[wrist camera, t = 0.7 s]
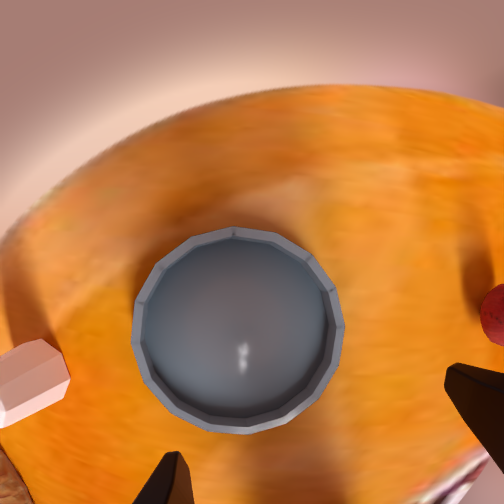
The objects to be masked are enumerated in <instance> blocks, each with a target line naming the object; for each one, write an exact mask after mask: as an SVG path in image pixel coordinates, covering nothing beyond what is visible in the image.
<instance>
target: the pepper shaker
mask: <svg viewBox="0 0 504 504" xmlns="http://www.w3.org/2000/svg"><path fill="white" fill-rule="evenodd" d="M70 379H71V378H70V376H69V373H68V370H67V368H66V365H65V362H64V359H63V356H62V353H60V352H59V351H58V350H56V349H55V348H54V347H52V346H51V345H49V344H48V343H47V342H45V341H44V340H43V339H38V340H34V341H30V342H26V343H23V344H21V345H19V346H17V347H16V348H14V349H12V350H10V351H9V352H7V353H5V354H3V355H2V356H0V428H3V427H6V426H9V425H11V424H13V423H15V422H17V421H19V420H21V419H23V418H25V417H27V416H29V415H31V414H33V413H35V412H37V411H39V410H41V409H43V408H45V407H47V406H49V405H51V404H53V403H55V402H57V401H59V400H61V399H63V397H64V395H65V392H66V389H67V387H68V384H69V381H70Z"/></svg>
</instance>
